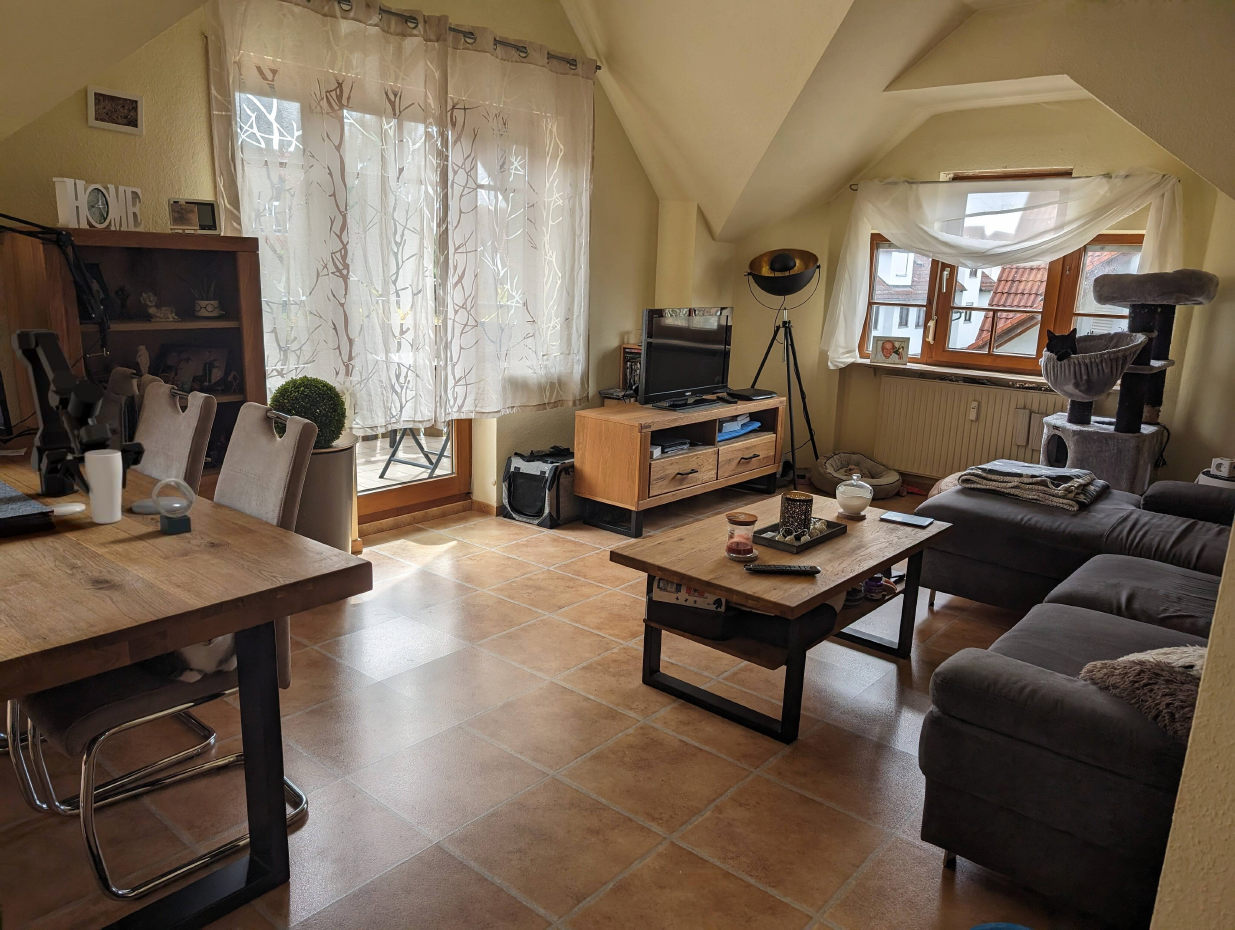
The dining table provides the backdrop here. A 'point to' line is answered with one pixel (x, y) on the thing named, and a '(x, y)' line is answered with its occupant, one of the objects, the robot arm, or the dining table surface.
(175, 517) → the grey ring on block
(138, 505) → the slate saucer
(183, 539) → the dining table surface
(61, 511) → the cream coaster
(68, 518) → the dining table surface
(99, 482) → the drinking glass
